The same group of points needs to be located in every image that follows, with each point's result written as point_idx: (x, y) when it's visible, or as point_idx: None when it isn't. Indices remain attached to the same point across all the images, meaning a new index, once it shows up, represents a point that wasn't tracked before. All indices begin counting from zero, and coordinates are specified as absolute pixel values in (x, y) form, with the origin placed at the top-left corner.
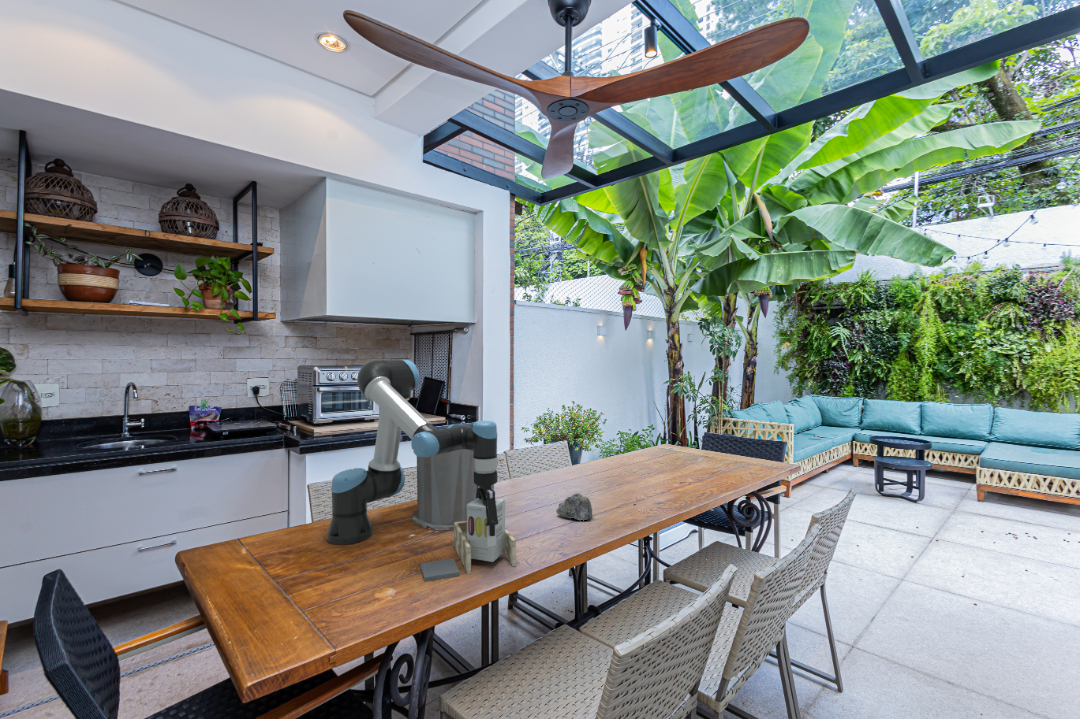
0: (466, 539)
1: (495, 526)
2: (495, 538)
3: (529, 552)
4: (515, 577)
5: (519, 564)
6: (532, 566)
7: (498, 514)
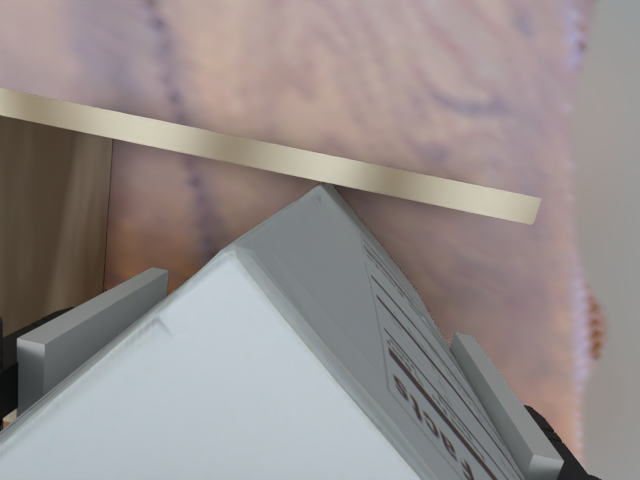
0: (80, 293)
1: (547, 445)
2: (490, 367)
3: (355, 24)
4: (572, 248)
5: (459, 158)
6: (526, 108)
7: (466, 415)
